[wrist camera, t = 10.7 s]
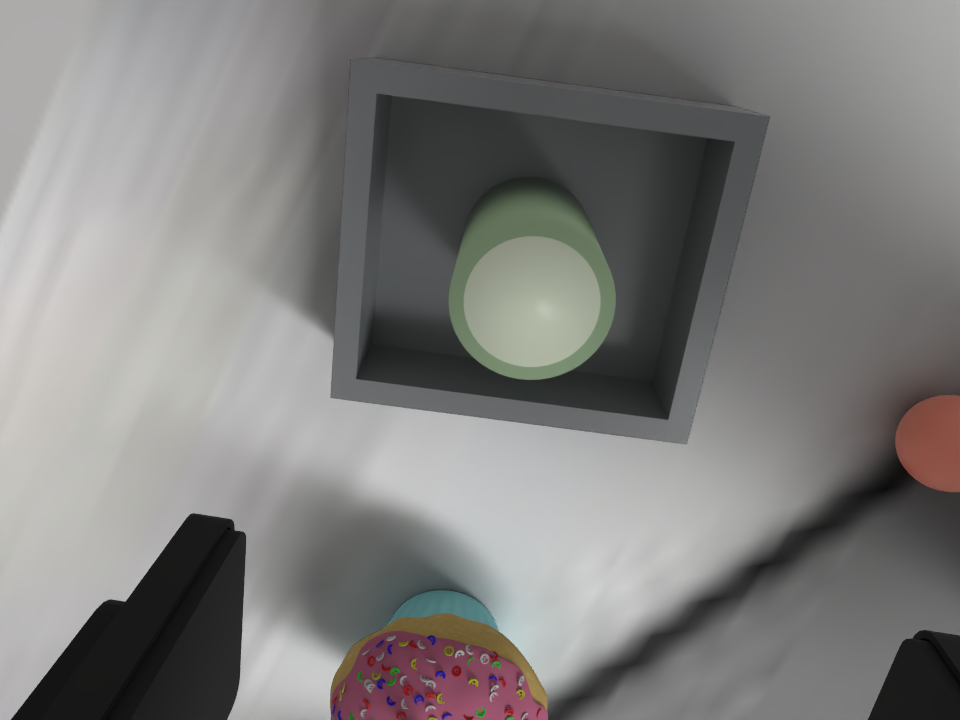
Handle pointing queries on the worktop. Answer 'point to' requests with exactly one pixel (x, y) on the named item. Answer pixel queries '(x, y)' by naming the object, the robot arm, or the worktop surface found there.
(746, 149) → the bin
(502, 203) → the cucumber chunk
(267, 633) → the worktop surface
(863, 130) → the worktop surface
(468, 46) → the worktop surface
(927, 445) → the tomato ball
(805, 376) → the worktop surface
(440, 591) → the cupcake
